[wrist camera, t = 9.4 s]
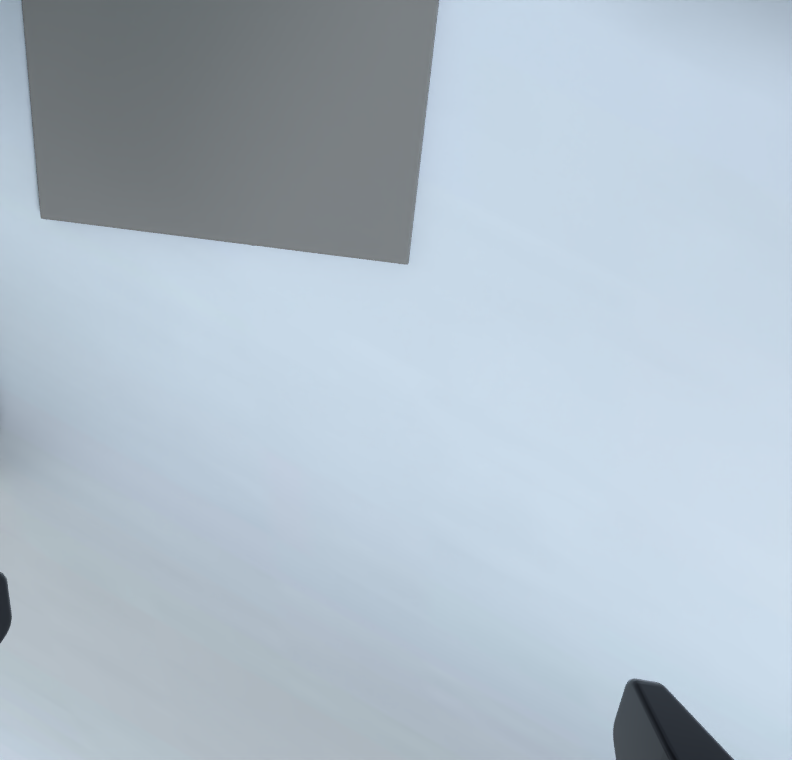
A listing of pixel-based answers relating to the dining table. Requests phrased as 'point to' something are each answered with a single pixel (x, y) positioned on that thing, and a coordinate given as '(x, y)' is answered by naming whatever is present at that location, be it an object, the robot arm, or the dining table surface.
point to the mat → (234, 118)
